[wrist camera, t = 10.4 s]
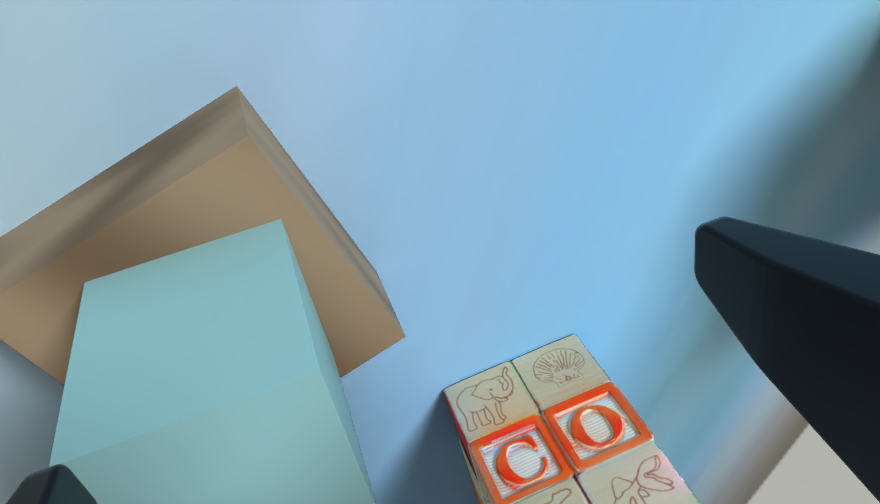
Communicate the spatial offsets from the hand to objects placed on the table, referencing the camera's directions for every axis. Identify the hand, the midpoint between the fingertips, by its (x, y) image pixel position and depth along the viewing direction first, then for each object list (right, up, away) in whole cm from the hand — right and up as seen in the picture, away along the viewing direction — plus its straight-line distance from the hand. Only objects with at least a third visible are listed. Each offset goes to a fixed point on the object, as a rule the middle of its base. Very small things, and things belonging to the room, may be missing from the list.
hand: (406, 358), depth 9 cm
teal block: (-6, 0, +9) cm, 11 cm away
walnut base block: (-7, +1, +13) cm, 15 cm away
